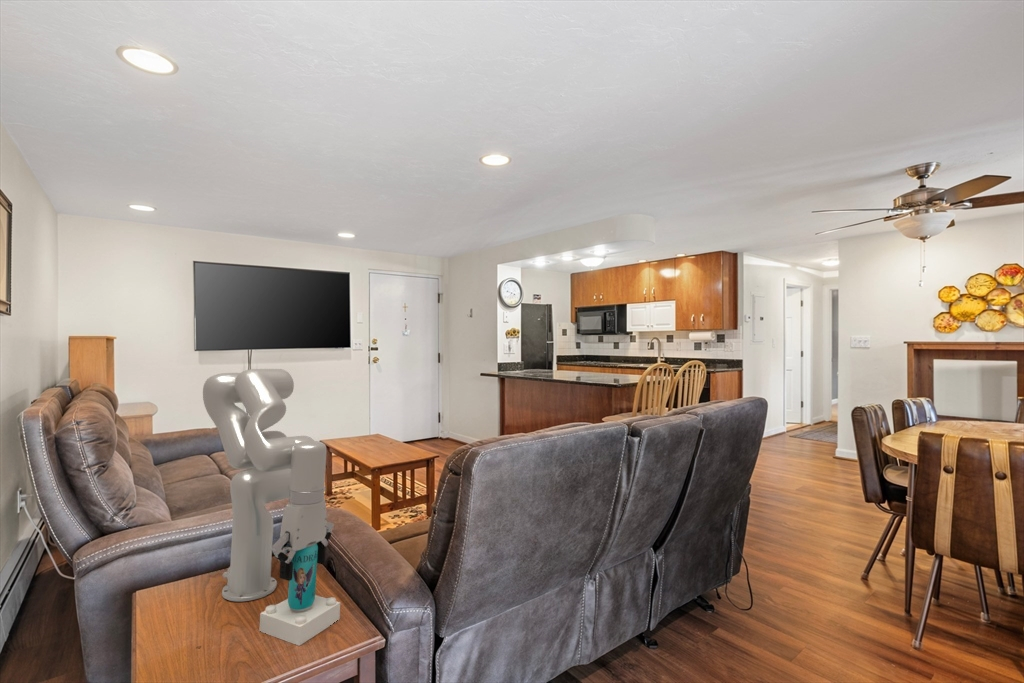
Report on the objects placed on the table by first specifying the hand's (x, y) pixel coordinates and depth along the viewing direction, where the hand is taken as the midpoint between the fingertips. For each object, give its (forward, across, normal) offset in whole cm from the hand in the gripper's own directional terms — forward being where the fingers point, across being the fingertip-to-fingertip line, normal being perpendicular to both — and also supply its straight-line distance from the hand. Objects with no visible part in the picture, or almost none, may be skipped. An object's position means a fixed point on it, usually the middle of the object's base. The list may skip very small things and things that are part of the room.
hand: (302, 570), depth 116 cm
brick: (+12, 0, 0) cm, 12 cm away
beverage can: (+9, 0, 0) cm, 9 cm away
